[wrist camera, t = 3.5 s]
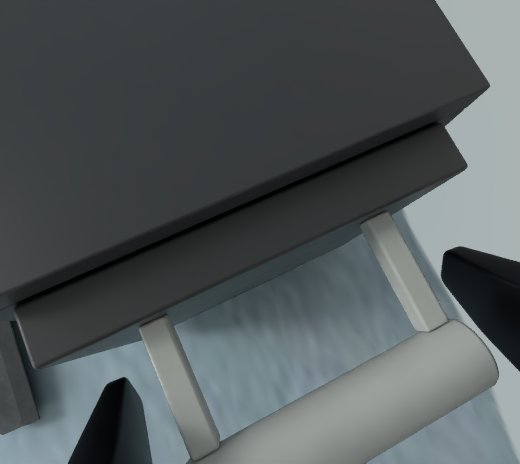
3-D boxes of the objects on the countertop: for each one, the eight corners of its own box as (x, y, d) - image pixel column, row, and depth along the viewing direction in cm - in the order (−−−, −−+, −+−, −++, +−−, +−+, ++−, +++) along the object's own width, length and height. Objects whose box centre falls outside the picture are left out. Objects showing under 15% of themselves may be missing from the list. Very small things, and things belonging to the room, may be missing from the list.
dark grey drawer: (392, 335, 16) (590, 360, 7) (188, 446, 14) (126, 649, 6) (237, 39, 18) (244, -203, 10) (50, 104, 17) (-137, -117, 8)
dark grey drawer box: (337, 220, 18) (492, 85, 7) (126, 318, 16) (-67, 324, 5) (228, 14, 20) (228, -318, 9) (31, 80, 18) (-239, -241, 8)
